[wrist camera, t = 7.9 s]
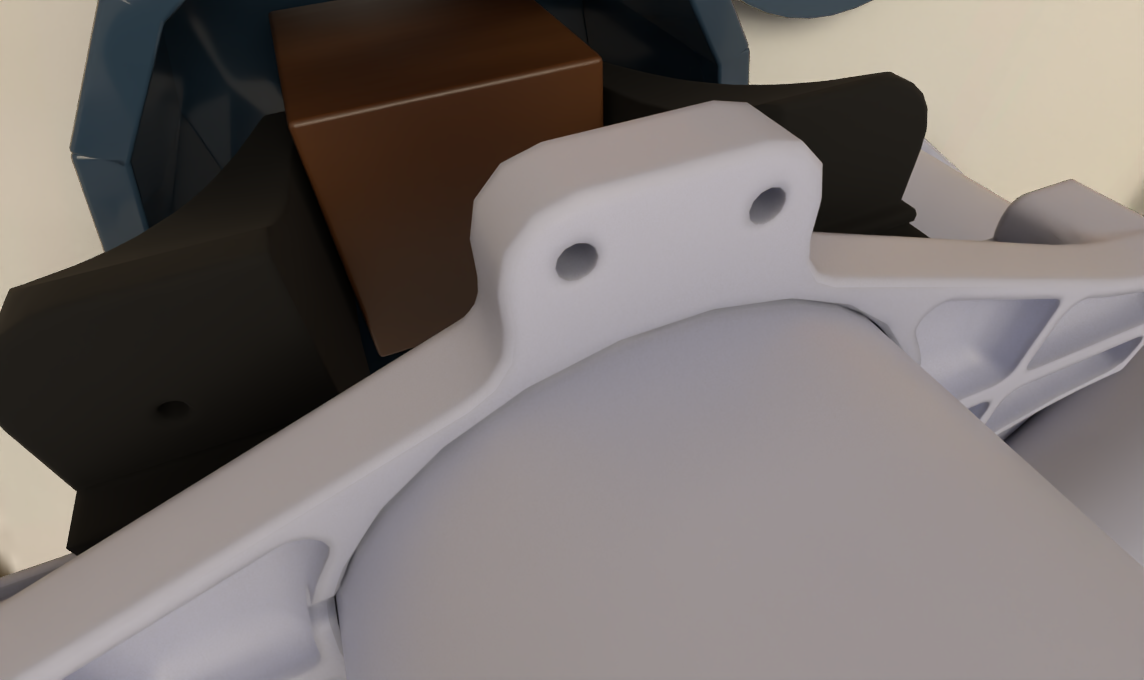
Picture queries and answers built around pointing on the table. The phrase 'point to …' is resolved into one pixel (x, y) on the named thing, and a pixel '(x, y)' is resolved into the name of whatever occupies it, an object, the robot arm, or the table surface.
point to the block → (422, 135)
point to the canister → (252, 90)
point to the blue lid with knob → (804, 7)
